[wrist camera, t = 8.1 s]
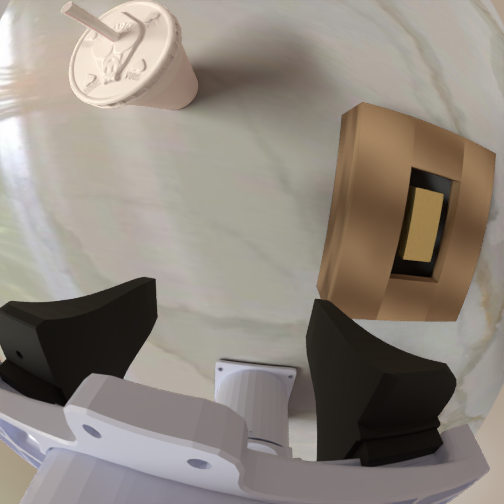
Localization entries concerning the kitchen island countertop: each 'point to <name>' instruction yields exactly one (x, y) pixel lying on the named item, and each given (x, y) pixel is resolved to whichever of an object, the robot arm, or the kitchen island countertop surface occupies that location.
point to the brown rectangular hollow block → (401, 217)
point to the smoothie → (131, 58)
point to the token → (419, 224)
